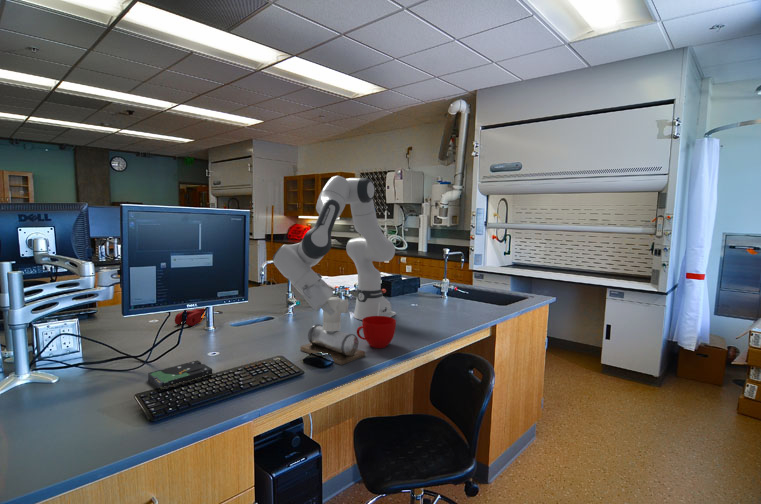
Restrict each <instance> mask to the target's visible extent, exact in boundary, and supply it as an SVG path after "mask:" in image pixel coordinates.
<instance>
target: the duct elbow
mask: <svg viewBox="0 0 761 504" xmlns="http://www.w3.org/2000/svg"><path fill="white" fill-rule="evenodd" d="M326 304H327V305H328V306H329V307H330V308H332V309H333V310H334V313H333V314H332V315H331V316H330V315H329V314H328V313H327V312H325V311H324V310H322V311H323V314H322V316H323V318H322V326H323V330H325V331H341V327H342V326H341V324H342V321H341V319H342V317H341V316H342V315H341V314H348V312H349V299H342V298H341V297H338V296H331V297H330V298H329V299H328V300H327V301H326Z"/></svg>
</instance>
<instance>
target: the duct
mask: <svg viewBox="0 0 761 504" xmlns="http://www.w3.org/2000/svg"><path fill="white" fill-rule="evenodd" d="M358 338H359V337H358V336H357V334H353V333H346V332H343V331H341V330H338V331H325V330H323V324H317V323H316V324H314V325H312V326H311V327H310V329H309V330H308V333H307V339H308V343H306V344H304V345H301V346H300V351H302V352H304V353H307V354H310V355H312V354H311V353H318V352H322V353H328V354H331V357H332V358H333V360H334V362H333V363H334V364H338V365H340V366H343V365H346V364H347V363H350V362H353V361H355V360H358V359H361V358H363V357H366V351H364V350H360V349H358V348H359V339H358Z"/></svg>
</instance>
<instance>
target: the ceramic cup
mask: <svg viewBox="0 0 761 504" xmlns="http://www.w3.org/2000/svg"><path fill="white" fill-rule="evenodd" d="M361 321H362V325H360V326H358V327H357V329H356V336H357V338H359V339H361V340H364V341H366V342H367V344H368V345H369V347H372V348H374V349H375V348H376V349H383V348H386V347H387V346H388V345H389V344H390V343H391V342H392V341H393V338H394V336H395V333H396V327H397V320H396V319H395V318H393V317H386V316H370V317H366V318H363V320H361ZM361 330H362V333H363V336H361V334H360V331H361Z"/></svg>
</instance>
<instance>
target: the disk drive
mask: <svg viewBox="0 0 761 504" xmlns="http://www.w3.org/2000/svg"><path fill="white" fill-rule="evenodd" d="M209 374H212V375H213V368H211V367H210V366H208V365H206V364H205V363H202V361H199V360H197V359H196V360H193V361H189V362H186V363H182V364H179V365H175V366H171V367H167V368H162V369H159V370H155V371H151V372H148V373H147V378H148V379H147V380H148V382H150V383H151V384H152V385H153V386H155V387H156V388H157V389H159V388H160V387H164V386H169V385H173V384H176V383H179V382H183V381H188V380H192V379H195V378H198V377H202V376H205V375H209Z"/></svg>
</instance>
